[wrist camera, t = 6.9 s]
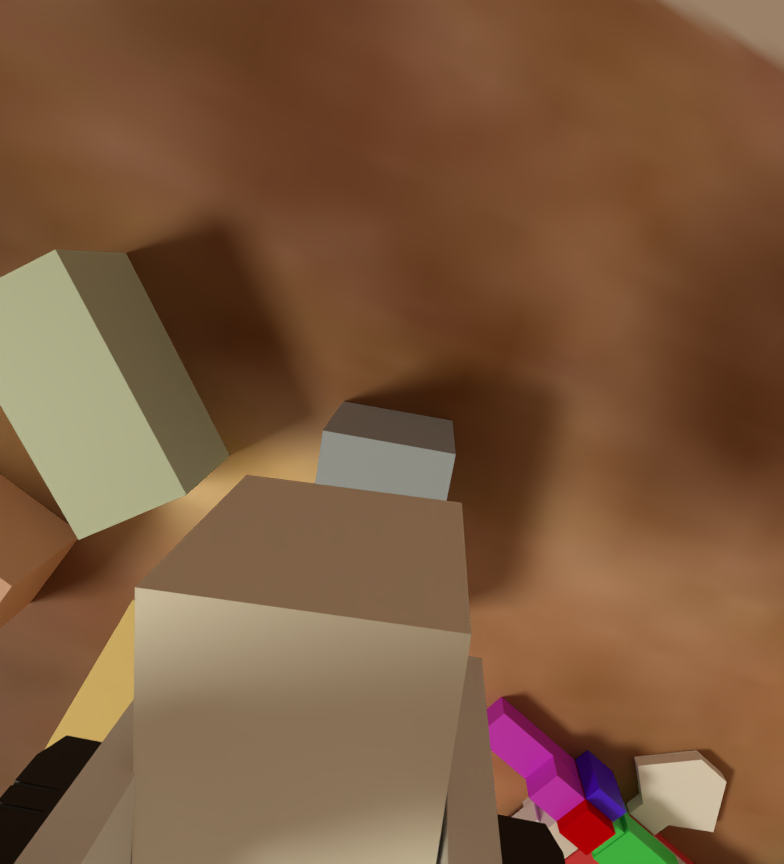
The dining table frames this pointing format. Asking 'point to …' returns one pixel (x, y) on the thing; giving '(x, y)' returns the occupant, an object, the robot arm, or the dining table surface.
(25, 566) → the terracotta brick
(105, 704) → the ochre brick
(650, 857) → the building block set
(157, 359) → the sage brick
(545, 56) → the dining table surface
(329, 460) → the slate brick
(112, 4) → the dining table surface
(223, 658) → the cream brick
